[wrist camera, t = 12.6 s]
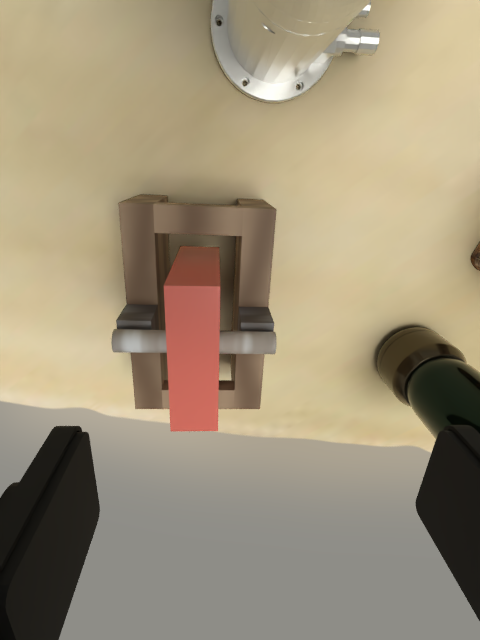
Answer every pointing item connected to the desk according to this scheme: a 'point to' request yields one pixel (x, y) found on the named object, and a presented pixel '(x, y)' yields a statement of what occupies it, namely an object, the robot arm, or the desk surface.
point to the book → (476, 257)
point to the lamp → (431, 378)
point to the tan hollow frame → (148, 293)
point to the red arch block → (193, 338)
